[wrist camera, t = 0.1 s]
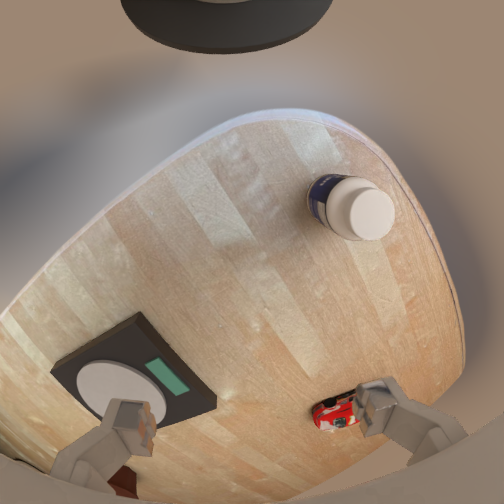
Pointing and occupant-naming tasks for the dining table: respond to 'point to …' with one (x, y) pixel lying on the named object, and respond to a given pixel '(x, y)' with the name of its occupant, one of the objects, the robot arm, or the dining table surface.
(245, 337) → the dining table surface
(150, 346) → the scale
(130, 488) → the muffin
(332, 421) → the race car
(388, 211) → the pill bottle
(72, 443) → the robot arm
